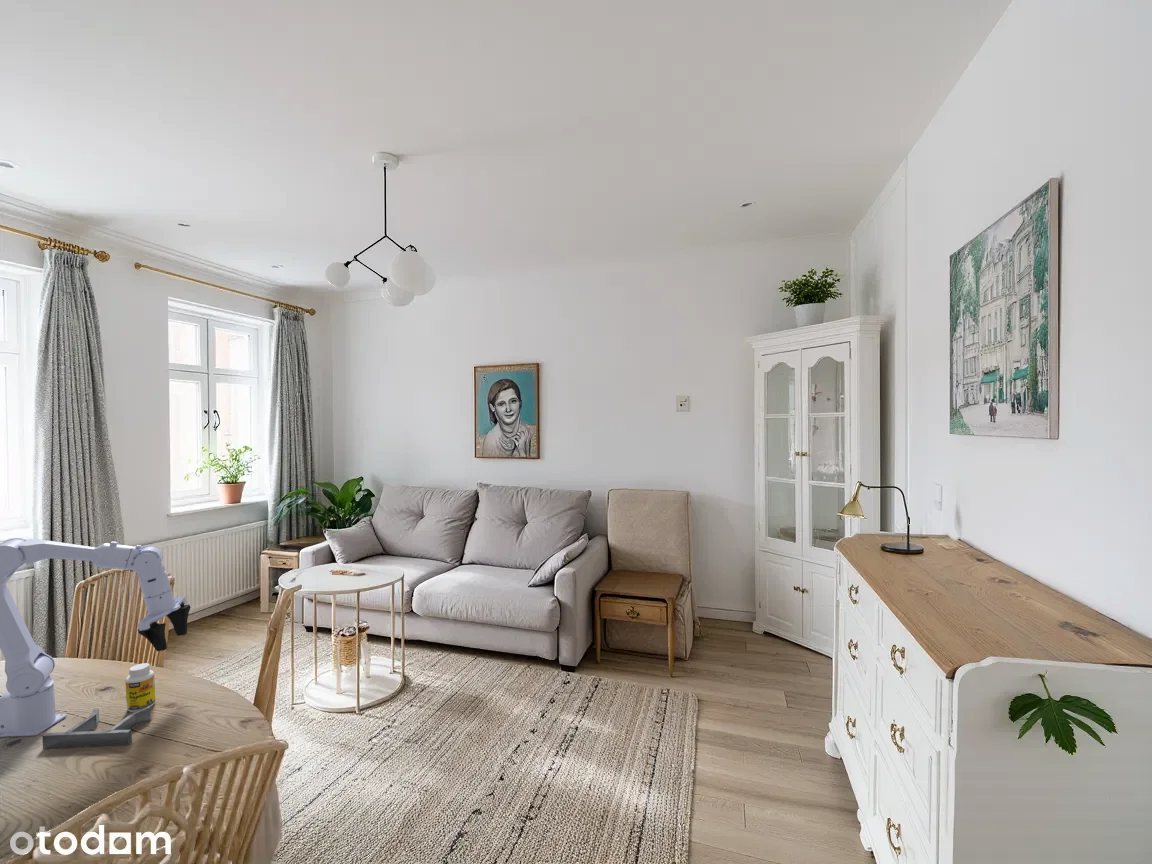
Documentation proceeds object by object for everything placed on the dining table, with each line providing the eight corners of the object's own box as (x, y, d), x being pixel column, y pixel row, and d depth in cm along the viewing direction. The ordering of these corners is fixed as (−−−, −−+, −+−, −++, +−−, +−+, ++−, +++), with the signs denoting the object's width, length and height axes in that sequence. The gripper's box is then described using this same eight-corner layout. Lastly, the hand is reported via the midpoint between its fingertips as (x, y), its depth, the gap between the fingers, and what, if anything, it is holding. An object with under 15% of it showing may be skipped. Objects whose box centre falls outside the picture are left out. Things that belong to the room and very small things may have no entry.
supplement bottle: (125, 715, 130) (123, 674, 129) (128, 705, 134) (126, 665, 134) (154, 708, 133) (152, 667, 132) (156, 698, 138) (154, 659, 137)
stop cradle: (43, 749, 117) (42, 735, 117) (84, 721, 128) (84, 708, 128) (128, 745, 118) (127, 732, 118) (163, 717, 129) (162, 705, 128)
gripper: (152, 603, 130) (168, 654, 132) (192, 578, 145) (205, 625, 147) (123, 608, 130) (139, 659, 132) (165, 583, 145) (179, 630, 147)
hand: (172, 642), depth 139 cm, fingers open, 7 cm apart
